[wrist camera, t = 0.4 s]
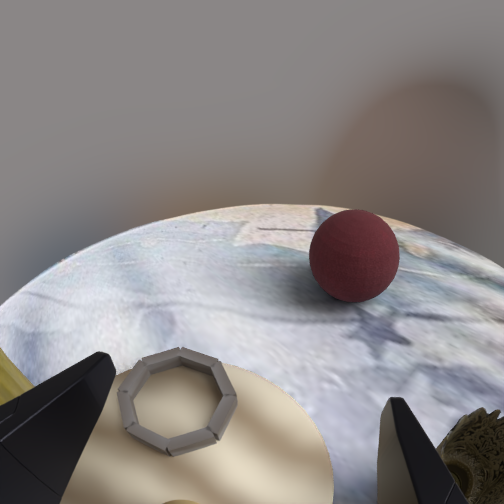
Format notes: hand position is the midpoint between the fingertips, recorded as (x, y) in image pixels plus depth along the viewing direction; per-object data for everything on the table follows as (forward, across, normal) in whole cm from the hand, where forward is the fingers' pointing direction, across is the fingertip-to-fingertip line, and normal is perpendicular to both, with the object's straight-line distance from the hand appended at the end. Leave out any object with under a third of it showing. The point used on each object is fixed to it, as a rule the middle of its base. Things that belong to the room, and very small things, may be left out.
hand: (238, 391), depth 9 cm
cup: (+3, -14, +17) cm, 22 cm away
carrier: (+2, +6, +16) cm, 18 cm away
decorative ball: (+26, -6, +13) cm, 30 cm away
